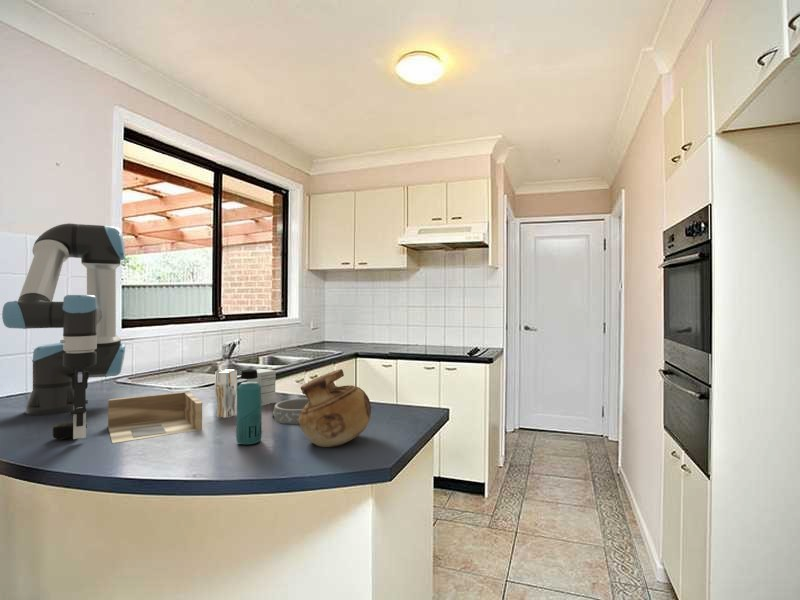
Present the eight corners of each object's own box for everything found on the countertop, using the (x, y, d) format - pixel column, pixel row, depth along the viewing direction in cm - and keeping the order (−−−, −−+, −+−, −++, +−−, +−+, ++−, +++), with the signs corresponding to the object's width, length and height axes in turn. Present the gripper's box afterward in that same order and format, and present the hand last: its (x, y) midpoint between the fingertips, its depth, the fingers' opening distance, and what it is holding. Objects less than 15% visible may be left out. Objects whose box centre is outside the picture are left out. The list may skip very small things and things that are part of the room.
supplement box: (246, 405, 163) (246, 370, 163) (262, 401, 169) (263, 368, 169) (259, 408, 159) (259, 372, 159) (276, 404, 165) (276, 370, 165)
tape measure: (78, 438, 121) (78, 424, 121) (48, 442, 118) (47, 428, 119) (87, 432, 127) (86, 419, 127) (58, 436, 125) (57, 423, 125)
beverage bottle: (247, 452, 113) (247, 372, 113) (230, 447, 117) (230, 370, 117) (267, 445, 119) (268, 369, 119) (250, 440, 122) (251, 367, 122)
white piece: (209, 418, 145) (209, 371, 145) (225, 413, 152) (225, 368, 152) (226, 420, 142) (226, 373, 142) (241, 415, 149) (242, 370, 149)
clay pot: (308, 434, 129) (309, 364, 129) (373, 435, 128) (374, 364, 128) (290, 457, 110) (290, 375, 110) (366, 458, 109) (367, 375, 109)
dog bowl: (277, 430, 133) (277, 412, 133) (269, 415, 150) (269, 399, 150) (334, 424, 140) (334, 407, 140) (319, 411, 157) (319, 395, 157)
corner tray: (108, 427, 134) (108, 399, 134) (188, 416, 147) (188, 391, 147) (112, 445, 118) (112, 413, 118) (202, 431, 131) (202, 402, 131)
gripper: (63, 348, 130) (63, 425, 130) (61, 356, 111) (61, 446, 112) (95, 346, 134) (94, 421, 134) (98, 354, 116) (97, 441, 116)
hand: (79, 432), depth 123 cm, fingers open, 10 cm apart
